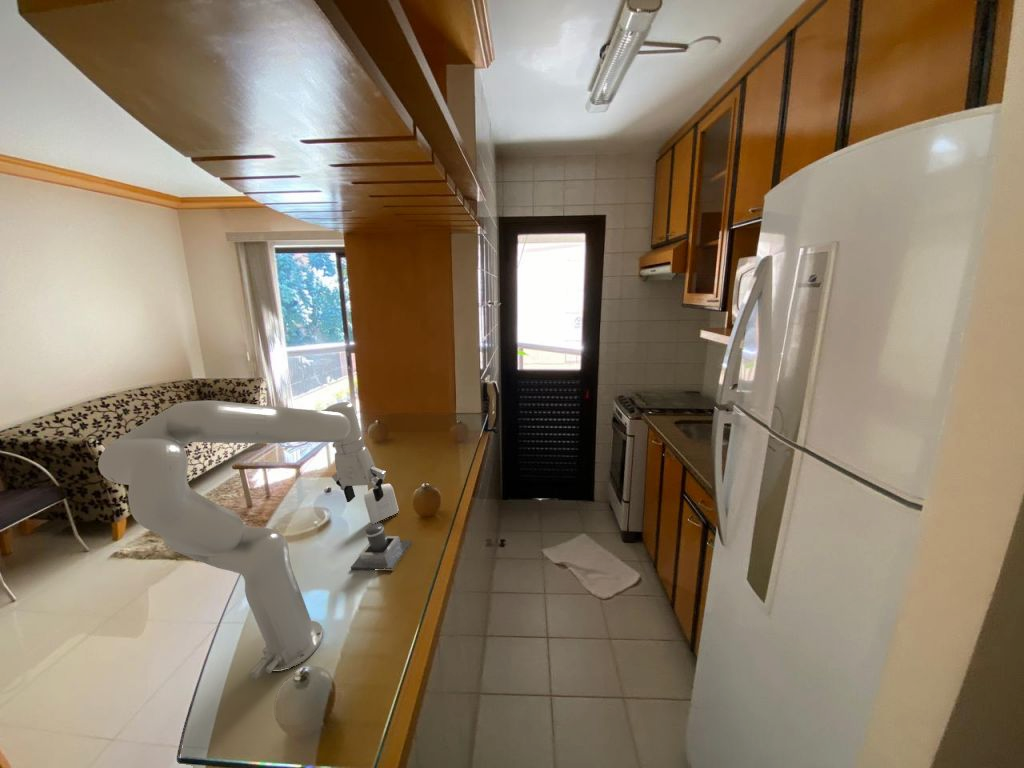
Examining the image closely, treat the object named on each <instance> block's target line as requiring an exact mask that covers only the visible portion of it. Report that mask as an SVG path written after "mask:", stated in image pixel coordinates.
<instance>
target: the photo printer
mask: <svg viewBox="0 0 1024 768" xmlns="http://www.w3.org/2000/svg"><path fill="white" fill-rule="evenodd" d="M381 487H382V490H383V495H384V496H383V497H382V498H381V499H380V500H379V501H378V502H376V500H375V497H374V493H373V489H374V488H373V487H372V488H370V489H369V490H367V491H366V492H365V493H363V499H364V504H365V507H366V510H367V514H368V518H369V522H370V523H371V525H373V524H375V523H376V524H377V522H378V521H380V520H383V519H385V518H387V517H389V516H392V515H394V514H396V513H398V511H399V506H398V502H397V498H396V495H395V491H394V487H393V486H392V484H390V483H385V484H384V483H382V484H381ZM399 512H400V511H399ZM398 514H399V513H398ZM396 515H397V514H396ZM394 516H395V515H394ZM392 517H393V516H392ZM387 519H388V518H387ZM385 520H386V519H385ZM383 521H384V520H383ZM378 523H379V522H378Z"/></svg>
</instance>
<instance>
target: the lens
mask: <svg viewBox="0 0 1024 768" xmlns="http://www.w3.org/2000/svg"><path fill="white" fill-rule="evenodd" d="M365 534H366V537H367V540H368V544H370V547H371V551H372V553H383V552H384V551H385V550H386V549H387V547H388V546H389V545H388V541H387V538H386V536H387V535H386V532H385V527H384V525H383V523H381V522H378V523H376V524H371V525H369V526H368V527H367V528H366V530H365Z"/></svg>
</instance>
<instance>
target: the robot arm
mask: <svg viewBox="0 0 1024 768" xmlns="http://www.w3.org/2000/svg"><path fill="white" fill-rule="evenodd" d="M301 442H302V443H305V442H306V443H307V442H308V443H332V444H331V445H332V446H331V447H332V448H333V449H334V448H335V451H336V452H335V453H334V462H335V463H334V464H335V470H336V472H334V473H333V474H332V475H331V478H332V480H333V481H334V482H335V484H336V485H337V486H339V488H340V490H341V491H343V494H344V496H345V500H346V503H350V502H351V501H352V500H354V498H355V497H356V495H355V491H354V486H355V487H358V486H359V487H360V486H361V487H362V486H367V485H370V486H371V487H372V488H374V489H373V493H374V497H375V500H376V502H378V501H379V500H380V499H381V498H382V497H383V496H384V495H383V490H382V487H381V485H383V484H384V481H385V480H386V479H385V478H386V474H387V472H386V471H385V470H382V469H380V468H377V467H376V465H375V462H374V460H373V457H372V455H371V452H370V450H369V449H368V447H367V446H366V445H365V442H364V438H363V435H362V432H361V428H360V423H359V420H358V417H357V412H356V410H355V406H354V404H353V403H351V402H349V401H343V402H338V403H334V404H332V405H330V406H328V407H326V408H325V409H321V410H317V409H316V410H313V409H302V408H291V407H285V406H276V405H274V406H273V405H263V404H262V405H261V404H254V403H253V404H252V403H243V402H232V401H222V400H212V399H211V400H208V399H207V400H206V399H205V400H192V401H191V400H190V401H183V402H179V403H177V404H175V405H172V406H170V407H168V408H166V409H165V410H163V411H162V412H160V413H157V414H156V415H155V416H153V417H151V418H150V419H149V420H146V421H145V422H143V423H142V424H140V425H138V426H136V427H135V428H134V429H132V430H130V431H129V432H128V431H127V433H125V434H123V435H122V436H120V437H119V438H117V439H115V440H114V441H113V442H111V443H109V444H108V445H107V447H105V449H103V451H102V452H101V454H100V456H99V459H98V462H97V463H98V464H97V465H98V470H99V472H100V474H101V475H102V476H103V477H104V478H105V479H106V480H107V481H110V482H112V483H115V484H118V485H119V484H120V485H126V486H127V485H128V493H127V495H128V496H127V497H128V505H129V510H130V513H131V515H132V518H133V519H134V520H135V521H136V523H137V524H139V525H140V526H142V527H143V528H145V529H147V530H148V531H150V532H152V533H154V534H156V535H159V536H160V537H161V538H162V541H163V543H164V544H165V545H166V547H168V548H169V549H170V550H172V551H174V552H176V553H179V554H181V555H183V556H186V557H187V558H191V559H193V560H195V561H198V562H201V563H203V564H205V565H209V566H211V567H214V568H217V569H220V570H224V571H230V572H232V573H236V574H238V575H241V576H242V578H243V579H244V593H245V598H246V600H247V604H248V606H249V608H250V610H251V612H252V614H253V617H254V620H255V622H256V624H257V627H258V629H259V632H260V633H261V636H262V639H263V641H264V644H265V647H264V648H263V649H262V653H263V656H262V657H261V661H260V662H259V663H258V664H257V665H256V666H255V667H254V668H253V669H252V671H250V676H251V677H252V678H253V679H256V680H257V679H258V678H260V676H261V675H262V674H263V673H264V672H266V673H267V674H271V673H272V671H273V670H281V669H285V668H290V667H293V666H295V667H297V666H299V665H301V662H302V663H303V662H304V661H306V660H307V659H308V658H309V657H310V656H311V655H312V654H313V653H314V652H315V651H316V650H317V649H318V648H319V646H320V644H321V642H322V640H323V637H324V629H323V626H322V625H321V623H319V622H318V621H314V620H312V618H311V616H310V613H309V610H308V608H307V605H306V603H305V600H304V597H303V595H302V592H301V590H300V587H299V584H298V581H297V579H296V576H295V573H294V571H293V567H292V564H291V560H290V559H291V558H290V549H289V545H288V541H287V539H286V537H285V536H284V535H283V534H282V533H280V532H279V531H277V530H274V529H272V528H267V527H262V526H254V525H253V526H252V525H246V524H244V521H243V520H242V518H241V517H240V516H239V515H238V514H237V512H235V511H233V510H232V509H229V508H227V507H225V506H223V505H221V504H218V503H216V502H214V501H212V500H211V499H209V498H207V497H205V496H203V495H201V494H200V493H198V492H196V491H195V490H194V489H193V488H191V487H190V485H189V482H188V469H189V459H188V454H187V452H186V451H185V449H184V448H185V447H186V446H188V445H189V444H190V443H208V444H209V443H210V444H211V443H213V444H214V443H215V444H217V443H218V444H284V443H285V444H286V443H301ZM298 664H299V665H298ZM296 665H297V666H296ZM293 668H294V667H293Z"/></svg>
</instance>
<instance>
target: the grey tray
mask: <svg viewBox="0 0 1024 768" xmlns="http://www.w3.org/2000/svg"><path fill="white" fill-rule="evenodd" d="M386 538H387V541H388V545H389V546H388V547H387V549H386V550H385V551H384V552H383V553H372V551H371V547H370V544H369V543H368V544H367V545H366V546H365V547H364V548H363V549H362V551H361V552H360V553H359V556H358V558H357V559H356V560H355V561H354V563H352V565H351V566H350V570H351V571H370V570H375V569H384V568H385V569H393V568H394V566H395V565H396V563H397V562H398V561H399V559H400V558H401V557H402V555H403V554H404V553H405V551H406V550H407V549H408V547H409V546H410V545H411V543H412V544H413V540H400V536H398V535H386ZM411 546H412V545H411ZM411 546H410V547H411ZM410 547H409V548H410ZM408 550H409V549H408ZM408 550H407V551H408ZM405 554H406V553H405Z"/></svg>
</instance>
